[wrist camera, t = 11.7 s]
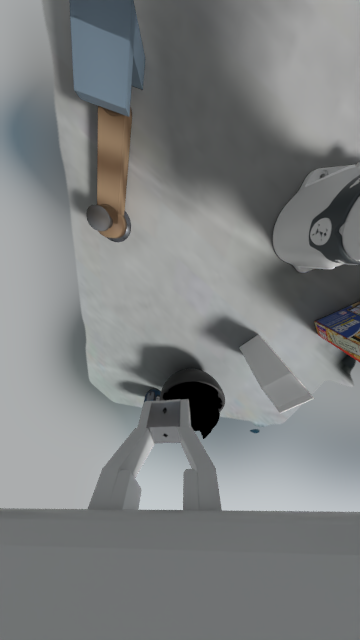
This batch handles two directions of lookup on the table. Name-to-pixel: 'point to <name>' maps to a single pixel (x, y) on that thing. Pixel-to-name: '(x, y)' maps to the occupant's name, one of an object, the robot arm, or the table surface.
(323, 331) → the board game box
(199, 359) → the table surface
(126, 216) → the pin washer
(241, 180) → the table surface
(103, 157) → the link
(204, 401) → the bowl of black rocks
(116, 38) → the keeper
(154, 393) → the soda can
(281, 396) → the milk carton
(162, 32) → the table surface
